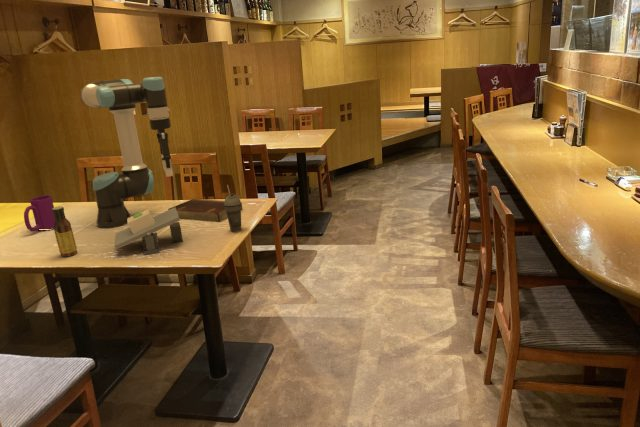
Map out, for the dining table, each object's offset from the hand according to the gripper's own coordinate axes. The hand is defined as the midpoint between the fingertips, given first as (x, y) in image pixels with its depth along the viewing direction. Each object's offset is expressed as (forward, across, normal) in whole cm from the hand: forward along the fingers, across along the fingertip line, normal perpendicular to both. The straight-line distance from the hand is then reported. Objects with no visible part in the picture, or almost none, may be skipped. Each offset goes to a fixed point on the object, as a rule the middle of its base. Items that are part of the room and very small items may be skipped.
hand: (168, 173), depth 203 cm
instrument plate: (+21, 0, +11) cm, 24 cm away
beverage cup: (+29, -1, -24) cm, 37 cm away
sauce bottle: (+29, +6, +43) cm, 52 cm away
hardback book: (+29, +31, -16) cm, 45 cm away
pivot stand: (+28, 0, +7) cm, 29 cm away
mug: (+29, +50, +58) cm, 81 cm away
